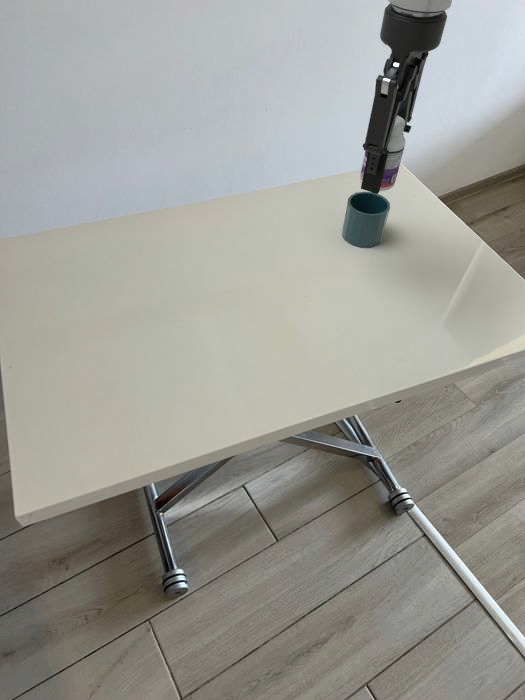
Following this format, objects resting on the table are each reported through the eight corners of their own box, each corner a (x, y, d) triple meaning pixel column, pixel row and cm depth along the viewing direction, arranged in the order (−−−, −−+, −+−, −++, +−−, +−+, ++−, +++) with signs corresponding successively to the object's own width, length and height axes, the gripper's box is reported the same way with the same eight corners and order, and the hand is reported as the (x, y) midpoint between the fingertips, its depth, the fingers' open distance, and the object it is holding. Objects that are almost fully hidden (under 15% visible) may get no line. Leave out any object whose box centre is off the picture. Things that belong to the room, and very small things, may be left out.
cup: (387, 232, 102) (396, 200, 96) (372, 252, 97) (380, 220, 92) (351, 219, 104) (357, 187, 99) (335, 238, 100) (340, 206, 94)
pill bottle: (353, 175, 82) (365, 113, 75) (384, 171, 84) (398, 109, 76) (368, 194, 79) (382, 131, 72) (400, 189, 80) (417, 126, 73)
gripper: (412, -16, 70) (376, 149, 88) (358, 21, 59) (329, 201, 77) (468, -5, 68) (420, 162, 85) (422, 35, 57) (378, 218, 75)
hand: (377, 180), depth 81 cm, fingers closed on pill bottle, 5 cm apart
